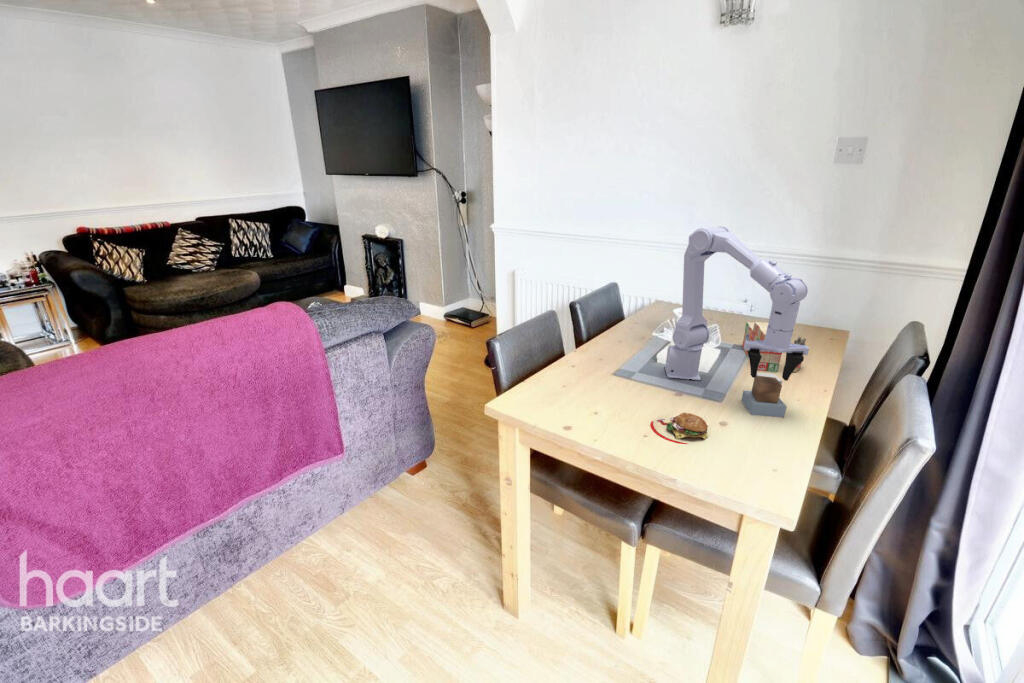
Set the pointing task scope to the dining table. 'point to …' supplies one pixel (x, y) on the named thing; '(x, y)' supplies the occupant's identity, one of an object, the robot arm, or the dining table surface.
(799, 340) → the lighter
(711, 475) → the dining table surface
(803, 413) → the dining table surface
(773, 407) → the base block
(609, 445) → the dining table surface
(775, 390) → the walnut cube
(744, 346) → the robot arm
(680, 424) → the hamburger
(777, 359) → the stack of blocks
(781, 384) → the grey cube
